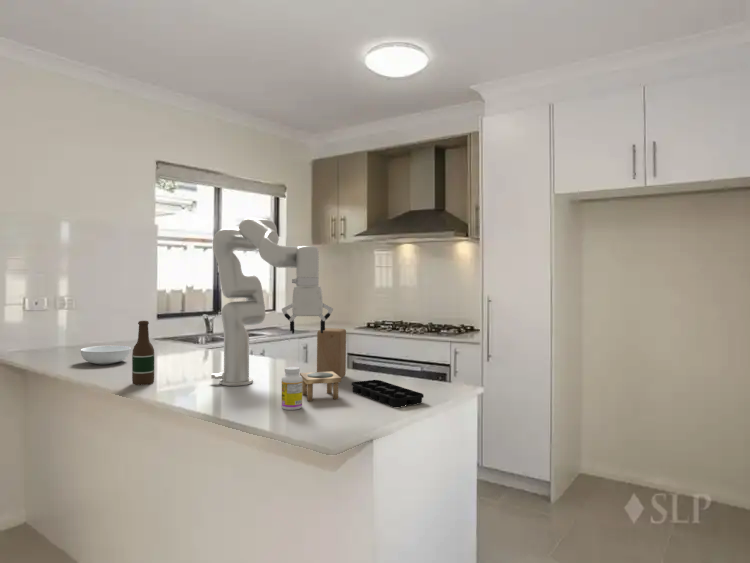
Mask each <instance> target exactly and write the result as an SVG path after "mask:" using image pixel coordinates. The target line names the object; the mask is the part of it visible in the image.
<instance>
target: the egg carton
mask: <svg viewBox="0 0 750 563" xmlns="http://www.w3.org/2000/svg"><path fill="white" fill-rule="evenodd" d="M350 386H352V393H353V394H357V393H358V394H359V395H361V396H362V397H367V398H369V399H370V400H373V401H378V403H381V404H383V403H384V404H385V405H388V406H389V405H390V406H389V407H391V406H392V407H391V408H394V407H400V408H402V407H401V406H405V405H407V406H408V404H417V403H421V402H423V398H424V393H422V392H419V391H416V390H412V389H408V388H405V387H402V386H399V385H397V384H393V383H390V382H387V381H383V380H380V379H369V380H361V381H353V382H351V383H350ZM421 404H422V403H421ZM417 405H418V404H417ZM405 407H406V406H405Z"/></svg>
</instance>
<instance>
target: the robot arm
mask: <svg viewBox="0 0 750 563" xmlns="http://www.w3.org/2000/svg"><path fill="white" fill-rule="evenodd" d="M238 225H239V226H238V228H232V227H231V228H229V227H228V228H222V229H219V230H217V231H216V233H215V234H214V237H213V240H212V250H213V253H214V257H215V260H216V263H217V267H218V273H219V279H220V287H221V291H222V295H223V296H224V297H225V298H227V299H233V300H234V299H236V301H231V302H227V303H225V304H224V305H223V306H222V309H221V311H220V312H221V313H220V314H221V316H220V317H221V321H222V322H221V323H222V326H223V327H222V328H223V370H222V372H219V373H215V372H214V373H211V374H210V376H211V379H215V380H219V379H220V380H219V384H220V385H222V386H225V387H226V386H229V387H238V386H239V387H240V386H247V385H251V384H253V382H254V379H253V378H252V377H250V336H249V332H248V331H247V329H246V327H245V326H254V325H259V324H261V323H263V322H264V320H265V318H266V306H265V305H266V304H265V298H264V292H263V287H262V283H261V281H260V279H259V278H258V277H257V275H256V276H255V275H254V274H244V273H243V271H242V264H241V261H240V259H239V257H238V256H237V255H236V254H235V253H234V252H233V251H240V252H241V251H242V252H254V251H256V250H258V253H259V255H260V258H261V259H262V260H263V261H265V262H266V263H268V264H269V265H270V266H272V267H274V268H279V269H280V268H282V269H284V268H287V269H288V268H289V269H295V272H296V273H295V275H296V277H295V278H292V279H291V283H292V284H295V285H296V286H294V287H293V290H292V302H291V303H290V304H287V305H286V306H284V307H282V308H281V312H282V314H283V316H284V317H285V318H286V320H288V321H289V332H291V334H292V335H294V333H295V319H296V317H319V318H320V325H319V326H320V327H319V328H320V329H319V330H320V332H321V333H323V330H325V328H326V321H327V320H328V318H330V316H331V315H332V312H333V311H334V308H333V307H332V306H329V305H328V304H325V303H323V293H322V292H323V291H322V287H321V286H319V274H320V273H319V271H320V270H319V260H320V259H319V257H320V256H319V249H318V247H317V246H314V245H302V246H301V245H300V246H291V245H279V240H280V238H279V234H278V229H277V228H278V227H277V225H276V223H275V222H274V221H272V220H270V219H267V218H257V217H246V218H244V219H243V220H241V222H240V223H239V224H238ZM237 299H245V300H239V301H237ZM323 308H324V309H325V310H327V312H326V314H325V315H323V312H324V309H323ZM291 309H292V310H291ZM288 310H291V311H292V315H291V316H290V314H289V313H288V312H287V311H288Z"/></svg>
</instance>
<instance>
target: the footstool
mask: <svg viewBox="0 0 750 563" xmlns="http://www.w3.org/2000/svg"><path fill="white" fill-rule="evenodd" d="M299 375H300V376H301V377H302V379H303V383H302V396H307V400H306V401H307V402H313V400H314V397H313V396H314V395H313V394H314V390H313V389H314V385H315V384H316V385H318V384H326V394H328V395H329V394H332V393H333V394H332V399H333V400H339V383H342V378H341V377H340V376H338V375H337V374H335V373H334V372H333V371H330V372H317V371H314V372H299Z"/></svg>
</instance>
